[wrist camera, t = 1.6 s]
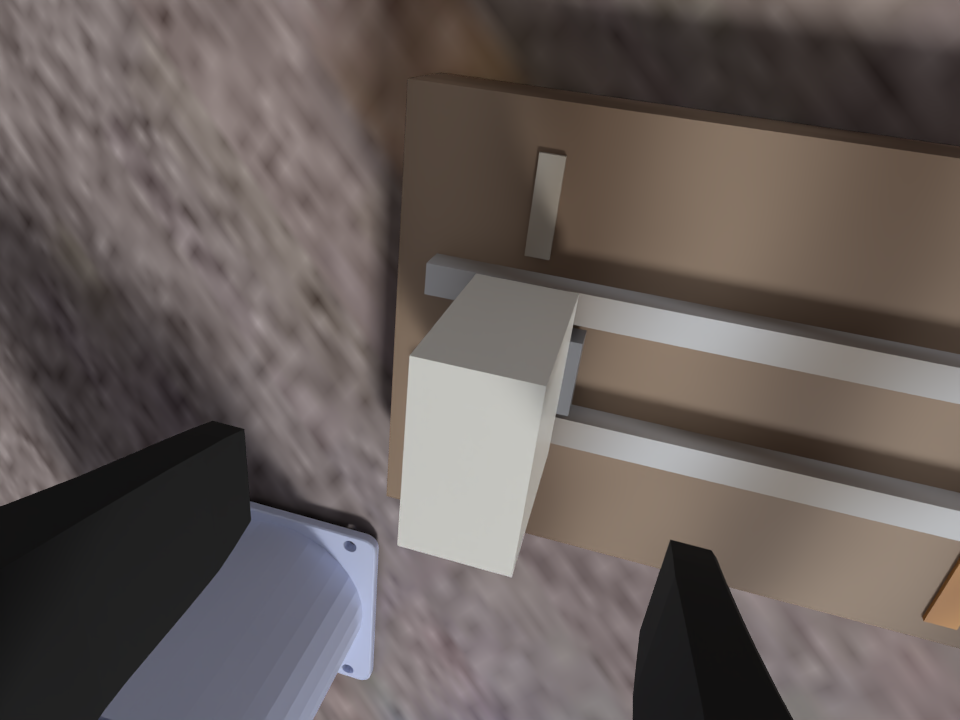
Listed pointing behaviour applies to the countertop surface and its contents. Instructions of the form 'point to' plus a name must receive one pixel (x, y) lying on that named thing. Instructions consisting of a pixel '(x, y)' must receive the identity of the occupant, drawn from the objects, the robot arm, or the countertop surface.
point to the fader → (485, 419)
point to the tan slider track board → (715, 332)
